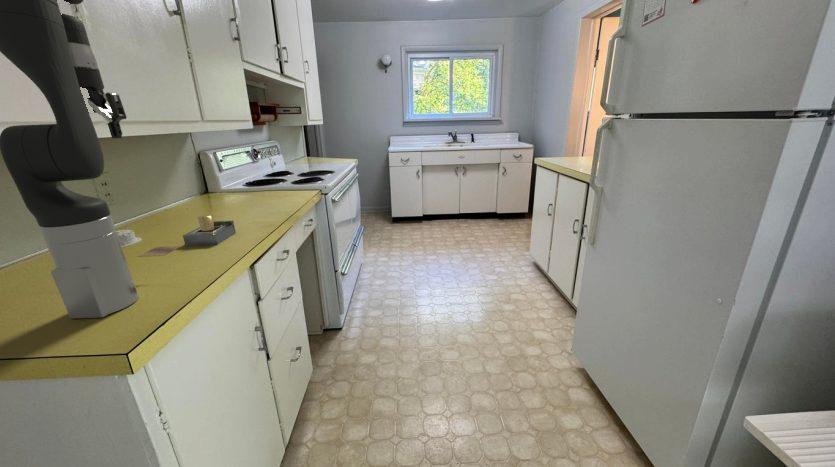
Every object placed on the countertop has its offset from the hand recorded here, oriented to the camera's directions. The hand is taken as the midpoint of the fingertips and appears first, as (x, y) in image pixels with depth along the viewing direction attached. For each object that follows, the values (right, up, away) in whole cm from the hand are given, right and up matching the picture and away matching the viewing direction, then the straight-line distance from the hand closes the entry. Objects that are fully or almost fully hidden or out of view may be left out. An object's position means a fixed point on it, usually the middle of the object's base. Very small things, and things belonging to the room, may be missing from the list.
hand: (100, 138), depth 84 cm
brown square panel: (+10, -29, +7) cm, 32 cm away
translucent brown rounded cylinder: (+19, -26, +14) cm, 35 cm away
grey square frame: (+19, -26, +14) cm, 35 cm away
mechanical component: (-7, -28, +14) cm, 32 cm away
